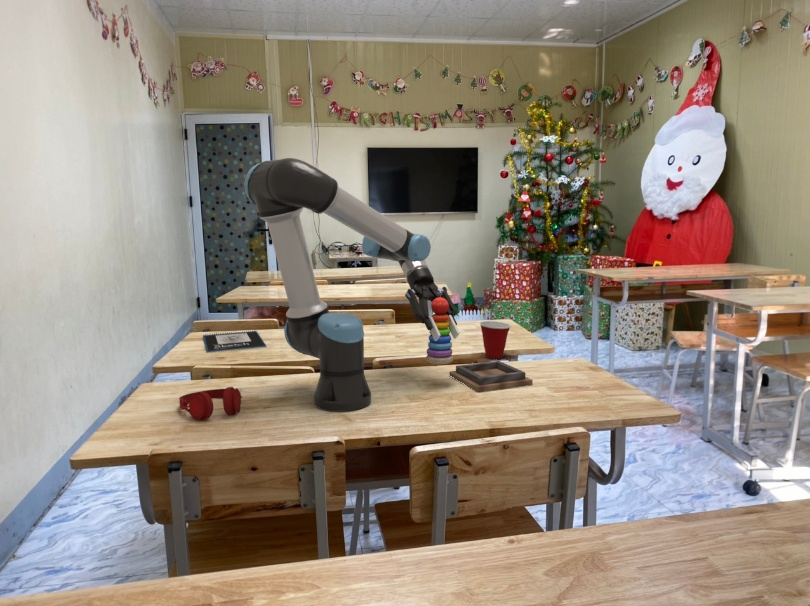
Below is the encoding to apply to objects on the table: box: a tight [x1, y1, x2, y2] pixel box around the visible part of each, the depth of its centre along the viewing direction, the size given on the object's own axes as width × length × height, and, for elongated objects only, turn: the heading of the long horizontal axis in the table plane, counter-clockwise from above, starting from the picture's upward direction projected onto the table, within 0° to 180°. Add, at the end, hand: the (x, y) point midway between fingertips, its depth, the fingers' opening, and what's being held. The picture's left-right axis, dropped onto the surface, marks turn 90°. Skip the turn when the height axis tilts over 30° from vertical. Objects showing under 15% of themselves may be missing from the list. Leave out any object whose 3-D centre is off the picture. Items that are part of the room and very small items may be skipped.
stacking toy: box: [425, 297, 454, 365], centre depth 171 cm, size 8×8×19 cm
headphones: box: [179, 386, 243, 421], centre depth 154 cm, size 15×7×20 cm
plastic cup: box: [479, 320, 512, 360], centre depth 204 cm, size 11×11×12 cm
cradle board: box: [448, 360, 534, 393], centre depth 177 cm, size 18×18×4 cm
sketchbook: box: [202, 329, 267, 354], centre depth 233 cm, size 22×30×2 cm
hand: (447, 336), depth 168 cm, fingers closed on stacking toy, 6 cm apart
